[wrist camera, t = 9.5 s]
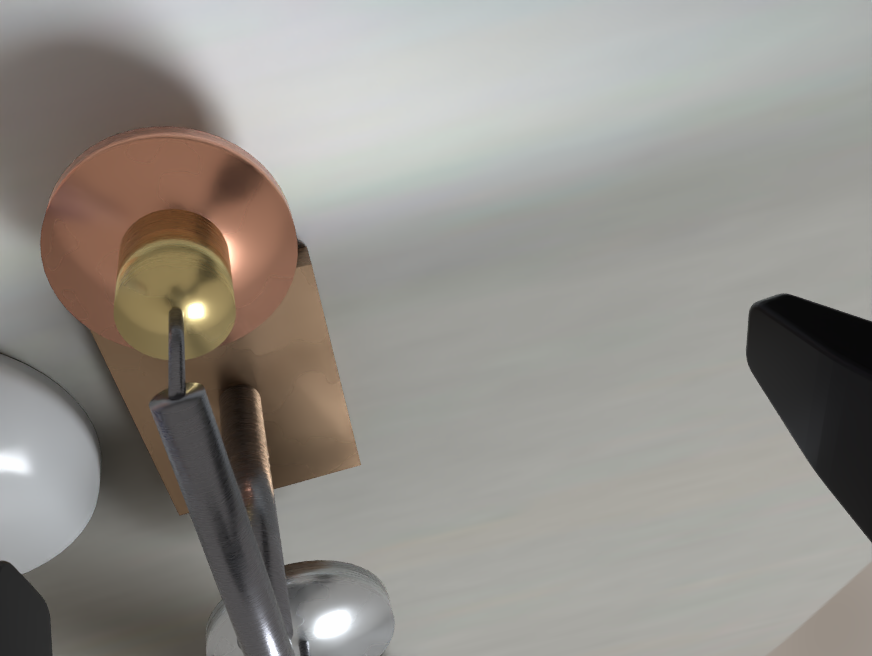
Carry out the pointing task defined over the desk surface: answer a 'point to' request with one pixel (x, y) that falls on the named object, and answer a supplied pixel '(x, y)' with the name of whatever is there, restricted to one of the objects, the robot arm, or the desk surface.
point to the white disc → (43, 467)
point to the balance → (218, 370)
